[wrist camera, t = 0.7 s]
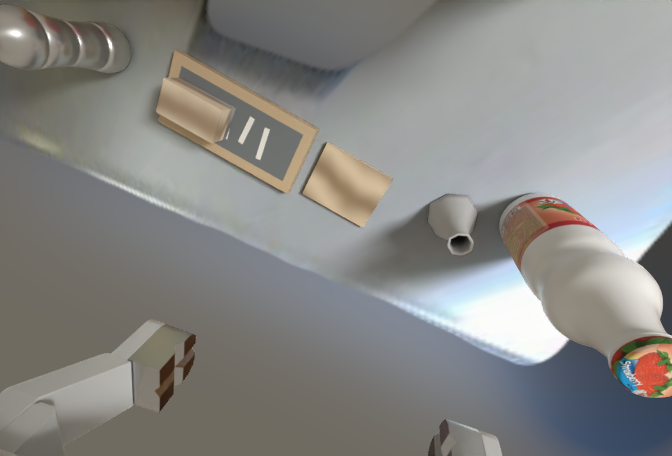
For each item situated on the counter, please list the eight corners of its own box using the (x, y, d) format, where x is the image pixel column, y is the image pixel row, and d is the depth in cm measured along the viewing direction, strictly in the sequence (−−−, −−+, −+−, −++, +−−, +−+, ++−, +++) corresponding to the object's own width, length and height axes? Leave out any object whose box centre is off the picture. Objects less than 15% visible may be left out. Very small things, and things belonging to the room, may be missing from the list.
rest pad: (328, 142, 50) (327, 142, 50) (392, 178, 50) (392, 180, 50) (303, 192, 54) (302, 193, 54) (363, 225, 54) (362, 227, 54)
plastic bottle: (93, 54, 52) (-73, 42, 34) (107, 13, 49) (-67, -24, 31) (128, 82, 53) (-17, 85, 35) (144, 43, 50) (-6, 24, 32)
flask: (431, 241, 53) (435, 274, 44) (422, 198, 51) (424, 224, 42) (480, 232, 51) (495, 265, 42) (473, 187, 49) (487, 212, 40)
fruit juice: (486, 210, 50) (561, 346, 24) (554, 178, 46) (724, 298, 21) (513, 261, 52) (608, 433, 27) (580, 234, 48) (762, 403, 23)
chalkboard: (181, 50, 49) (174, 49, 48) (319, 129, 50) (316, 130, 48) (164, 120, 54) (157, 121, 53) (290, 191, 55) (287, 194, 53)
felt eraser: (181, 77, 49) (163, 77, 46) (236, 108, 49) (222, 110, 46) (173, 109, 52) (155, 112, 48) (225, 139, 52) (211, 143, 48)
